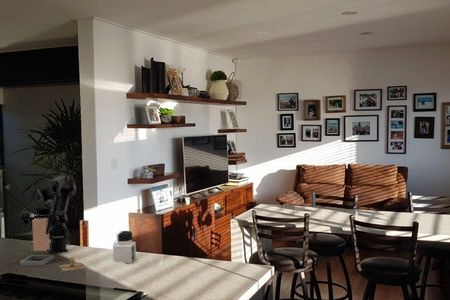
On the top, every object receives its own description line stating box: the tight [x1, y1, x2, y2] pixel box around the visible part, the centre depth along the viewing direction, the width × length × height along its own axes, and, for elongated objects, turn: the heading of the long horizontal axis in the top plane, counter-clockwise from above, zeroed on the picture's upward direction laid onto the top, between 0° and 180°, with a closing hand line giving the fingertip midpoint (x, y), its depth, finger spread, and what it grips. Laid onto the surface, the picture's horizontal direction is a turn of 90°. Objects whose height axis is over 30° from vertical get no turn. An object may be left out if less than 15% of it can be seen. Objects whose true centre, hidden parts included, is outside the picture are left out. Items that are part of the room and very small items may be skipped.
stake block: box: [58, 257, 86, 272], centre depth 186 cm, size 9×9×4 cm
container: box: [112, 230, 137, 265], centre depth 195 cm, size 8×8×13 cm
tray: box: [19, 254, 55, 266], centre depth 194 cm, size 10×10×2 cm
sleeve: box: [31, 218, 50, 252], centre depth 191 cm, size 5×5×13 cm
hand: (39, 234), depth 190 cm, fingers closed on sleeve, 5 cm apart
